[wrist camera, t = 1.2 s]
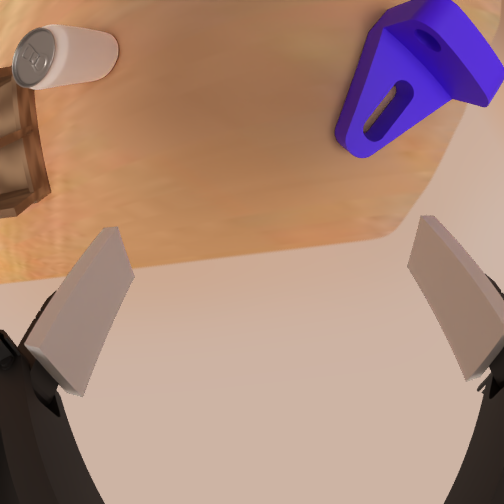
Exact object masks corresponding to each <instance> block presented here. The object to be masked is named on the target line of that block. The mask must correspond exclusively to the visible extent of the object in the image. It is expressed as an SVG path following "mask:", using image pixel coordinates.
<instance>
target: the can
mask: <svg viewBox="0 0 504 504" xmlns="http://www.w3.org/2000/svg"><path fill="white" fill-rule="evenodd" d="M117 57H118V44H117V41H116V39H115V38H114V37H113V36H112V35H111V34H109V33H106V32H102V31H98V30H93V29H87V28H81V27H75V26H67V25H58V24H51V25H46V26H44V27H42V28H36V29H34V30H32V31H30V32H29V33H28V34H26V35H25V36H24V37H23V39H22V40H21V41H20V43H19V44H18V46H17V48H16V50H15V53H14V56H13V61H12V74H13V77H14V80H15V82H16V83H17V84H18V85H19V86H21V87H23V88H30V89H34V90H41V89H47V88H52V87H58V86H64V85H70V84H77V83H84V82H91V81H96V80H99V79H101V78H103V77H105V76H106V75H107V74H108V73H109V72H110V71H111V70H112V68H113V67H114V65H115V63H116V60H117Z"/></svg>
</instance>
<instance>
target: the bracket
mask: <svg viewBox="0 0 504 504" xmlns="http://www.w3.org/2000/svg"><path fill="white" fill-rule="evenodd" d="M503 80H504V67H503V65H502V63H501V62H500V60H499V59H498V57H497V56H496V54H495V53H494V51H493V50H492V48H491V47H490V45H489V44H488V43H487V41H486V40H485V38H484V37H483V36H482V34H481V33H480V32H479V30H478V29H477V28H476V27H475V25H474V24H473V23H472V22H471V20H470V19H469V18H468V17H467V15H466V14H465V13H464V12H463V11H462V10H461V9H460V7H459V6H457V5H456V4H455V3H454V2H453V1H451V0H411V1H408V2H405V3H403V4H400V5H398V6H395V7H393V8H390V9H388V10H387V11H386V12H385V13H384V14H383V16H382V17H381V18H380V19H379V20H378V22H377V23H376V24H375V25H374V26H373V28H372V29H371V30H370V31H369V33H368V36H367V39H366V42H365V45H364V48H363V51H362V54H361V57H360V60H359V63H358V66H357V69H356V72H355V75H354V77H353V80H352V83H351V86H350V89H349V92H348V95H347V97H346V100H345V103H344V106H343V109H342V111H341V114H340V117H339V120H338V122H337V125H336V128H335V137H336V140H337V141H338V143H339V144H340V145H341V146H343V147H344V148H345V149H346V150H347V151H349V152H350V153H351V154H352V155H354V156H356V157H358V158H366V157H369V156H371V155H373V154H374V153H375V152H377V151H378V150H380V149H381V148H382V147H384V146H385V145H387V144H388V143H390V142H391V141H392V140H394V139H395V138H397V137H398V136H399V135H401V134H402V133H404V132H405V131H407V130H408V129H409V128H411V127H412V126H414V125H415V124H417V123H418V122H419V121H421V120H422V119H424V118H425V117H427V116H428V115H430V114H431V113H432V112H434V111H435V110H437V109H438V108H440V107H441V106H443V105H444V104H445V103H447V102H448V101H450V100H451V99H455V100H459V101H463V102H467V103H471V104H474V105H478V106H481V107H487V106H488V105H489V103H490V102H491V100H492V98H493V97H494V95H495V94H496V92H497V90H498V89H499V87H500V85H501V84H502V82H503ZM394 84H395V86H396V95H395V97H394V98H393V99H392V101H391V102H390V103H389V104H388V106H387V107H386V108H385V110H384V111H383V112H382V114H381V115H380V116H379V117H378V119H377V120H376V121H375V123H374V124H373V125H372V126H371V128H370V129H369V130H368V131H367V132H366V133H363V126H364V123H365V122H366V121H367V119H368V118H369V117H370V115H371V114H372V113H373V112H374V110H375V109H376V108H377V106H378V105H379V104H380V103H381V101H382V100H383V99H384V97H385V96H386V95H387V93H388V92H389V91H390V90H391V88H392V87H393V86H394Z"/></svg>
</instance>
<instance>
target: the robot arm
mask: <svg viewBox="0 0 504 504" xmlns="http://www.w3.org/2000/svg"><path fill="white" fill-rule="evenodd" d="M407 267H408V268H409V270H410V272H411V274H412V275H413V277H414V279H415V280H416V282H417V284H418V285H419V287H420V289H421V291H422V292H423V294H424V296H425V298H426V299H427V301H428V303H429V305H430V307H431V309H432V310H433V312H434V314H435V316H436V318H437V320H438V322H439V324H440V326H441V328H442V329H443V332H444V334H445V336H446V338H447V340H448V341H449V344H450V346H451V348H452V350H453V353H454V355H455V357H456V359H457V361H458V364H459V366H460V368H461V371H462V373H463V375H464V378H465V380H466V381H470V380H472V379H475V378H478V377H480V376H481V375H482V374H483V373H484V372H485V370H486V369H487V368H488V367H490V370H491V373H490V374H489V376H488V377H487V378H486V379H485V380H484V381H483V382H482V383H481V384H480V386H479V387H478V389H477V391H480V390H481V389H482V388H483V387H484V386H485V385H486V387H485V389H484V390H483V392H482V393H483V394H484V396H483V400H482V404H481V408H480V412H479V416H478V419H477V422H476V426H475V429H474V433H473V435H472V438H471V441H470V444H469V447H468V450H467V453H466V455H465V458H464V461H463V463H462V465H461V468H460V471H459V473H458V475H457V477H456V480H455V482H454V484H453V486H452V488H451V490H450V492H449V495H448V496H447V498H446V500H445V502H444V504H504V294H503V293H501V290H500V289H499V287H498V286H497V284H496V283H495V282H494V281H493V280H492V279H491V278H489V277H488V276H487V275H486V274H484V273H483V271H482V270H481V269H480V268H479V266H478V265H477V264H476V262H475V261H474V260H473V259H472V258H471V257H470V255H469V254H468V253H467V252H466V251H465V249H464V248H463V247H462V246H461V245H460V243H458V241H457V240H456V239H455V238H454V237H453V236H452V235H451V233H450V232H449V231H448V230H447V229H446V228H445V227H444V226H443V225H442V224H441V223H440V222H439V221H438V219H437V218H435V216H421V217H420V221H419V225H418V229H417V233H416V237H415V241H414V244H413V248H412V251H411V255H410V258H409V262H408V265H407ZM133 279H134V273H133V270H132V268H131V265H130V262H129V259H128V256H127V253H126V250H125V247H124V244H123V241H122V238H121V235H120V232H119V229H118V227H108V228H103V229H102V231H101V232H100V233H99V234H98V235H97V237H96V238H95V239H94V240H93V242H92V243H91V244H90V246H89V247H88V248H87V249H86V251H85V252H84V253H83V255H82V256H81V257H80V259H79V260H78V261H77V263H76V264H75V265H74V267H73V268H72V270H71V271H70V272H69V274H68V275H67V277H66V278H65V279H64V281H63V283H62V284H61V285H60V287H59V288H58V290H57V291H55V292H54V293H53V294H52V295H51V296H50V297H49V298H47V300H46V301H45V303H44V304H43V306H42V307H41V311H39V312H38V313H37V315H36V319H34V320H33V322H32V323H31V325H30V327H29V328H28V330H27V332H26V334H25V335H24V337H23V339H22V340H21V342H20V344H19V346H18V347H17V346H16V345H15V344H14V342H13V341H12V340H11V339H10V337H9V336H8V335H7V333H6V332H5V331H4V330H0V504H105V503H104V502H103V500H102V498H101V496H100V494H99V492H98V490H97V489H96V486H95V484H94V482H93V480H92V478H91V476H90V474H89V472H88V470H87V468H86V465H85V463H84V461H83V458H82V456H81V454H80V452H79V449H78V447H77V444H76V441H75V439H74V436H73V433H72V431H71V428H70V425H69V422H68V419H67V416H66V413H65V410H64V407H63V403H62V400H61V397H60V395H59V393H58V392H57V391H56V389H57V386H58V385H60V386H61V387H62V388H63V389H64V390H65V391H66V392H67V393H69V394H73V395H77V396H80V397H83V396H84V393H85V390H86V387H87V385H88V382H89V379H90V376H91V374H92V371H93V369H94V366H95V363H96V361H97V359H98V356H99V354H100V351H101V349H102V347H103V344H104V342H105V339H106V337H107V335H108V332H109V330H110V328H111V325H112V323H113V321H114V319H115V317H116V314H117V312H118V310H119V308H120V306H121V304H122V302H123V299H124V297H125V295H126V293H127V291H128V289H129V287H130V285H131V283H132V281H133Z"/></svg>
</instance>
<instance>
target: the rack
mask: <svg viewBox="0 0 504 504" xmlns="http://www.w3.org/2000/svg"><path fill="white" fill-rule="evenodd" d="M49 193H51V189H50V185H49V181H48V177H47V173H46V168H45V164H44V159H43V154H42V149H41V143H40V137H39V131H38V124H37V116H36V108H35V98H34V89H30V88H23V87H21V86H19V85H18V84H17V83H16V82H15V80H14V77H13V74H12V66H11V67H5V68H0V218H7V217H16V216H18V215H19V214H20V213H21V212H23V211H24V210H25V209H26V208H27V207H29V206H30V205H31V204H32V203H38V202H39V201H40V200H41V199H43V198H44V197H45V196H47V195H48V194H49Z"/></svg>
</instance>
